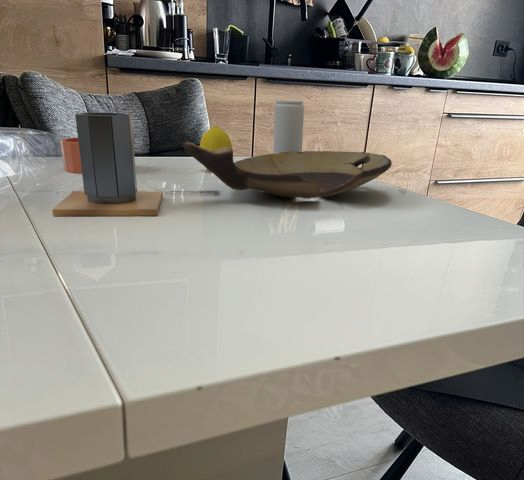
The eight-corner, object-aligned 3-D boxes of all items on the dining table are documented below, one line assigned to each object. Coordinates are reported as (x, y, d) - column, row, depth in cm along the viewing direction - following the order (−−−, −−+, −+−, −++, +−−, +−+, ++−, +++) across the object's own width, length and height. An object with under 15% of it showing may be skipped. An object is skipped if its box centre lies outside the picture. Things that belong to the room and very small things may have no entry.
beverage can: (269, 178, 92) (271, 100, 87) (275, 174, 97) (278, 100, 91) (297, 180, 91) (301, 101, 86) (302, 176, 96) (306, 101, 90)
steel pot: (82, 204, 66) (71, 114, 62) (91, 194, 72) (81, 112, 67) (134, 204, 67) (127, 115, 63) (139, 195, 72) (133, 113, 68)
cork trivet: (53, 216, 64) (52, 209, 63) (73, 197, 74) (73, 191, 74) (157, 215, 65) (156, 209, 65) (163, 197, 76) (162, 191, 75)
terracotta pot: (58, 178, 88) (53, 142, 85) (72, 169, 97) (68, 136, 95) (127, 179, 89) (124, 143, 87) (134, 169, 99) (131, 137, 96)
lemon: (196, 173, 96) (195, 124, 92) (226, 172, 98) (226, 124, 94) (205, 178, 91) (203, 126, 88) (236, 177, 93) (236, 126, 90)
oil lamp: (417, 209, 71) (426, 147, 68) (185, 211, 68) (182, 145, 64) (365, 182, 91) (370, 132, 88) (184, 182, 87) (182, 130, 84)
